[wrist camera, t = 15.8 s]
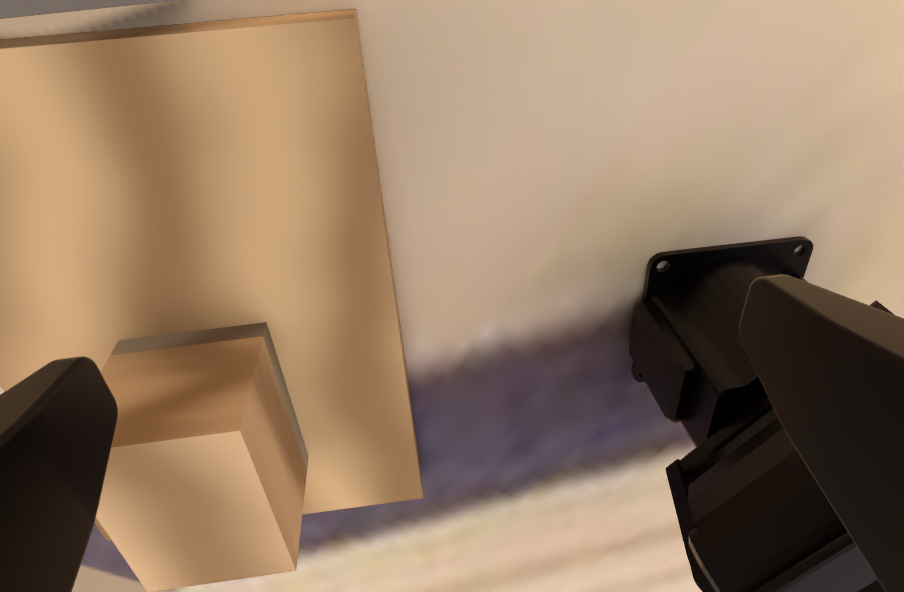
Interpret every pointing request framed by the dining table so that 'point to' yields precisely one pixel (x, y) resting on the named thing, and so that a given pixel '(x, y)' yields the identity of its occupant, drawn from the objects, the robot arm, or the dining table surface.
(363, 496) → the oak board
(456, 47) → the dining table surface
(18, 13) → the graphite stick
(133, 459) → the tan rectangular block
